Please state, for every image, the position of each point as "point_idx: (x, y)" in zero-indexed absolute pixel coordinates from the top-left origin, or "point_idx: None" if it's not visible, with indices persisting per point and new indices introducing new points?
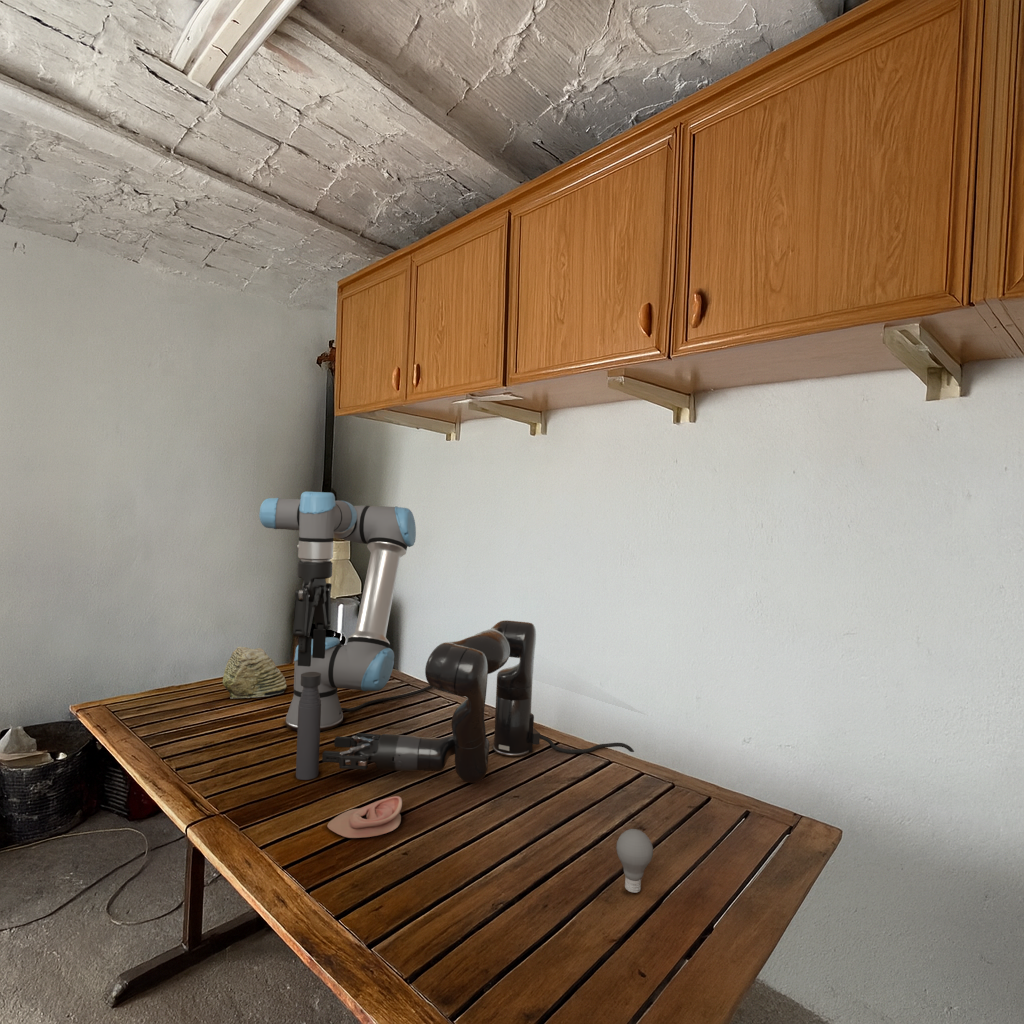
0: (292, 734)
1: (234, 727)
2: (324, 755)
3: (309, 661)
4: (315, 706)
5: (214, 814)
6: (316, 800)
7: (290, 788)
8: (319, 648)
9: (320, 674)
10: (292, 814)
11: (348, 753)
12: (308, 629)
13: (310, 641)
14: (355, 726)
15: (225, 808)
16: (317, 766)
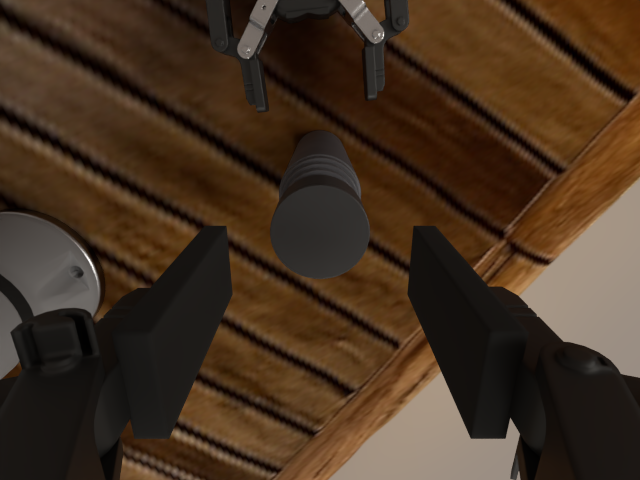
0: (124, 288)
1: None
2: (382, 89)
3: (442, 236)
4: (343, 163)
5: (508, 245)
6: (433, 77)
7: (387, 161)
8: (212, 282)
9: (307, 188)
10: (499, 101)
11: (371, 14)
12: (637, 410)
13: (493, 306)
14: (3, 167)
15: (485, 239)
16: (321, 132)
